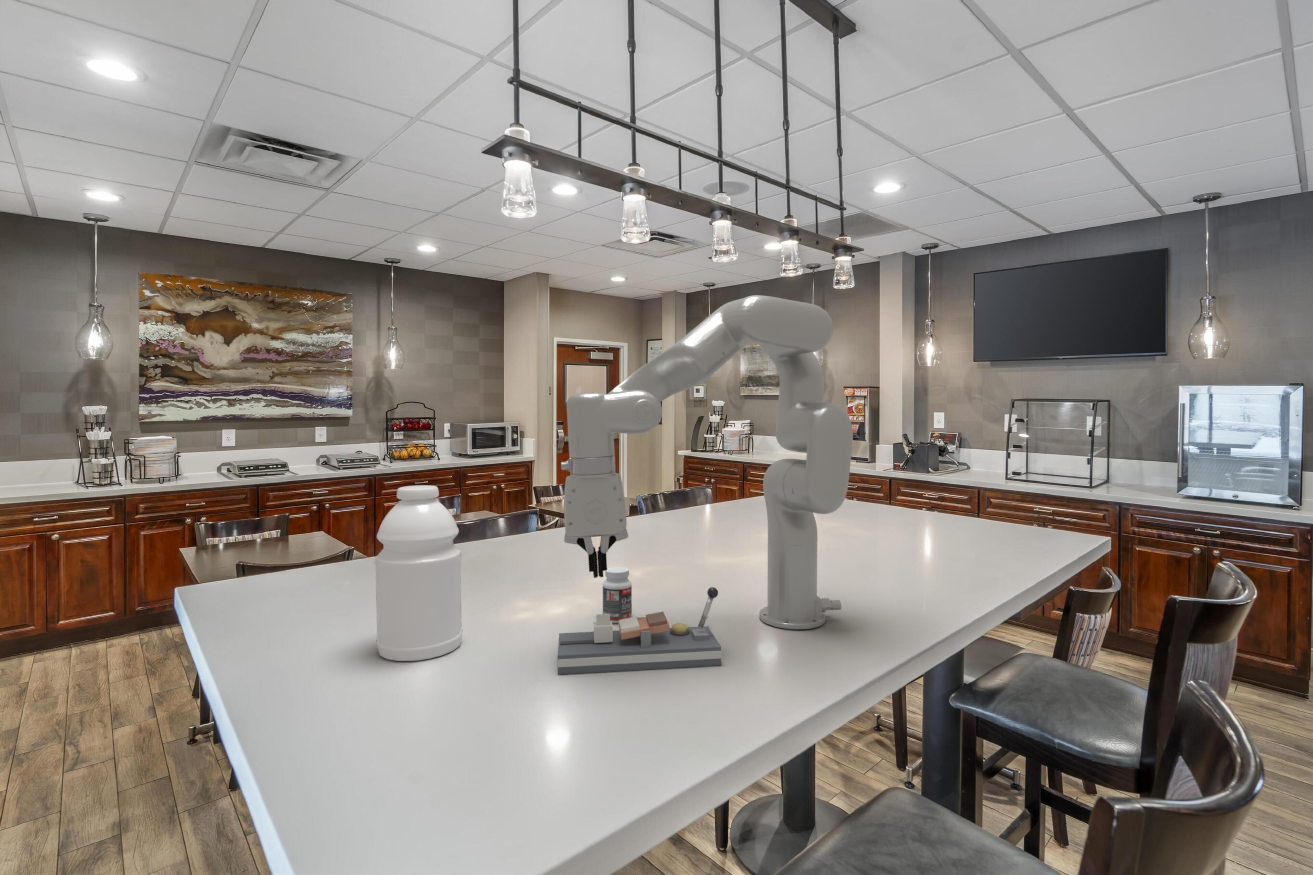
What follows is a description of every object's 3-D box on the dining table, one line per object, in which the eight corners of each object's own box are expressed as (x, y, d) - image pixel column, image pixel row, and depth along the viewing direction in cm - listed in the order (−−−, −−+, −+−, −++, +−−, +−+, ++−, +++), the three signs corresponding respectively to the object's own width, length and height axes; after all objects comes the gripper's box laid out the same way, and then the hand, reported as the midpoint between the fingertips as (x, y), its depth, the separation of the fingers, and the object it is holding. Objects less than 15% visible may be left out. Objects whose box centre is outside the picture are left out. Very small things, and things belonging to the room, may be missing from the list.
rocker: (665, 619, 107) (663, 610, 107) (670, 630, 102) (668, 620, 102) (619, 628, 106) (617, 619, 106) (621, 639, 101) (620, 630, 101)
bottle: (478, 638, 114) (476, 484, 113) (427, 667, 101) (424, 493, 99) (414, 629, 118) (412, 481, 117) (357, 656, 105) (354, 490, 104)
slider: (611, 636, 105) (611, 612, 105) (612, 642, 102) (612, 616, 102) (593, 637, 104) (593, 612, 104) (594, 642, 102) (594, 617, 102)
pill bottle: (627, 625, 121) (627, 573, 120) (599, 623, 122) (598, 572, 121) (634, 615, 126) (634, 566, 126) (607, 614, 127) (607, 565, 127)
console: (707, 642, 111) (707, 611, 111) (721, 665, 101) (721, 631, 101) (559, 650, 108) (559, 618, 107) (557, 675, 98) (557, 639, 97)
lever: (703, 628, 107) (718, 587, 107) (705, 632, 105) (720, 590, 105) (693, 625, 106) (708, 584, 106) (695, 629, 105) (710, 587, 105)
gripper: (546, 472, 100) (552, 585, 101) (639, 466, 102) (644, 577, 103) (548, 467, 107) (554, 573, 108) (634, 462, 109) (639, 566, 110)
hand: (598, 575), depth 106 cm, fingers closed
